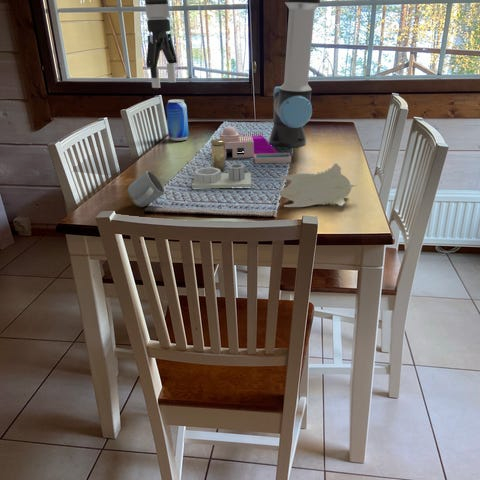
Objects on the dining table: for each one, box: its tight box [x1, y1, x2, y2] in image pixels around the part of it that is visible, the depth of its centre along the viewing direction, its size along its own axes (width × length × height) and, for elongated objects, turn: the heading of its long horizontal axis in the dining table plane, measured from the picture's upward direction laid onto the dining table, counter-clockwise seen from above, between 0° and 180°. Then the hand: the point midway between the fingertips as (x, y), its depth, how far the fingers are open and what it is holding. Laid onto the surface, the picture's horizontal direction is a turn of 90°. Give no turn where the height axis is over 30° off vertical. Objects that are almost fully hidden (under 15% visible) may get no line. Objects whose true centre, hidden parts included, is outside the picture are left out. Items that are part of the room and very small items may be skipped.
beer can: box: [165, 98, 190, 142], centre depth 196 cm, size 8×8×16 cm
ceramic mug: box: [126, 170, 166, 208], centre depth 127 cm, size 11×8×8 cm
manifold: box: [191, 163, 252, 189], centre depth 145 cm, size 18×11×6 cm, turn 89°
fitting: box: [210, 138, 226, 172], centre depth 157 cm, size 4×4×10 cm
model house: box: [219, 125, 292, 164], centre depth 170 cm, size 25×17×11 cm
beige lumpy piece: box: [278, 162, 358, 208], centre depth 129 cm, size 22×12×12 cm, turn 94°
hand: (164, 84), depth 165 cm, fingers open, 13 cm apart
